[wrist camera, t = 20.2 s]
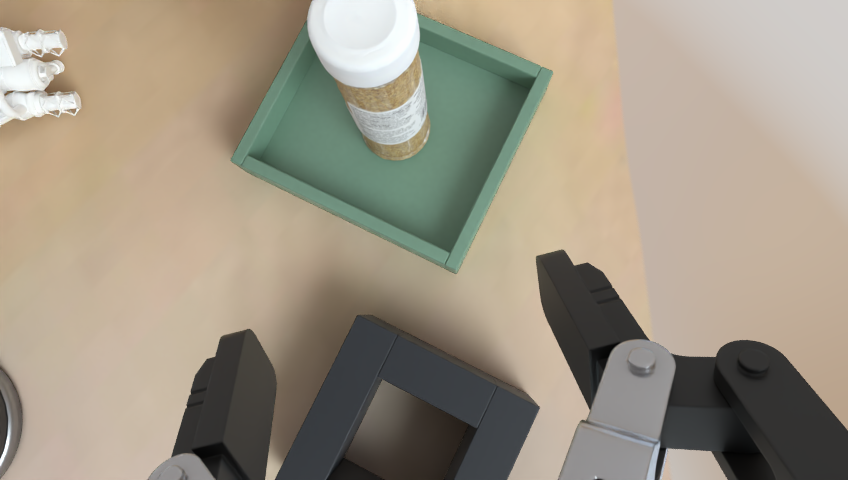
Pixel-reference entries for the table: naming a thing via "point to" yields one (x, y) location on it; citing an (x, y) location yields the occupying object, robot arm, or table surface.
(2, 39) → the rocket engine
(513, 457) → the holder
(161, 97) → the table surface
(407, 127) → the spice jar
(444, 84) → the tray
